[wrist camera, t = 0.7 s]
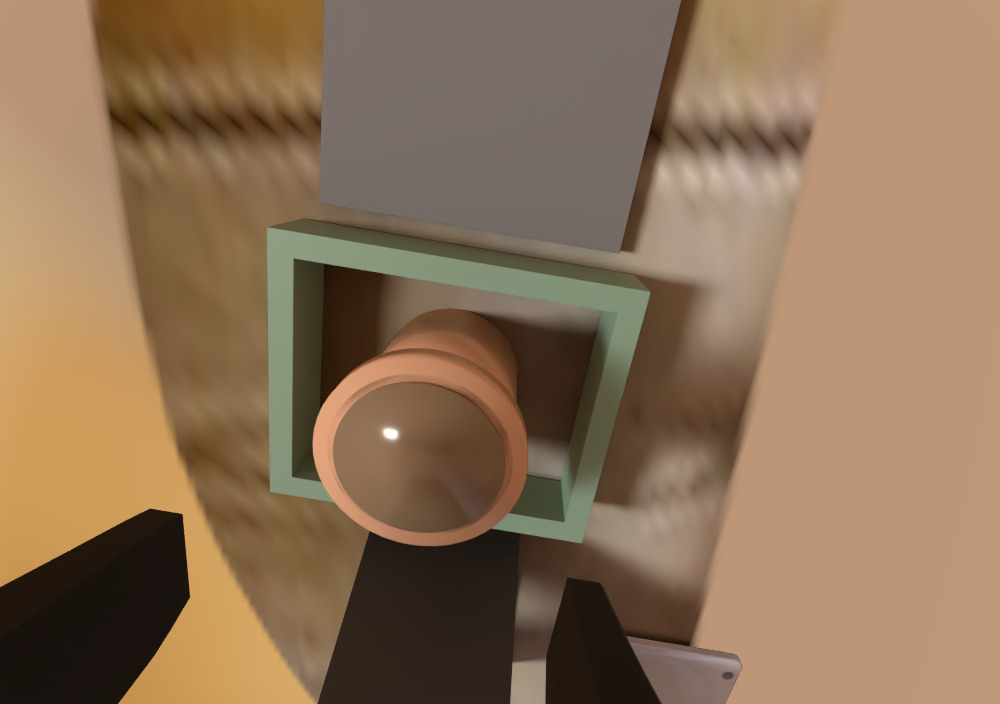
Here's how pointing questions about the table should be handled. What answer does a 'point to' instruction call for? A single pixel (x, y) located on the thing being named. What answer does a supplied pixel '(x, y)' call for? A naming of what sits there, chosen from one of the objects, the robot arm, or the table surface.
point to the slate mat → (493, 111)
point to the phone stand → (428, 624)
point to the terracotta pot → (427, 433)
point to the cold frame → (315, 243)
